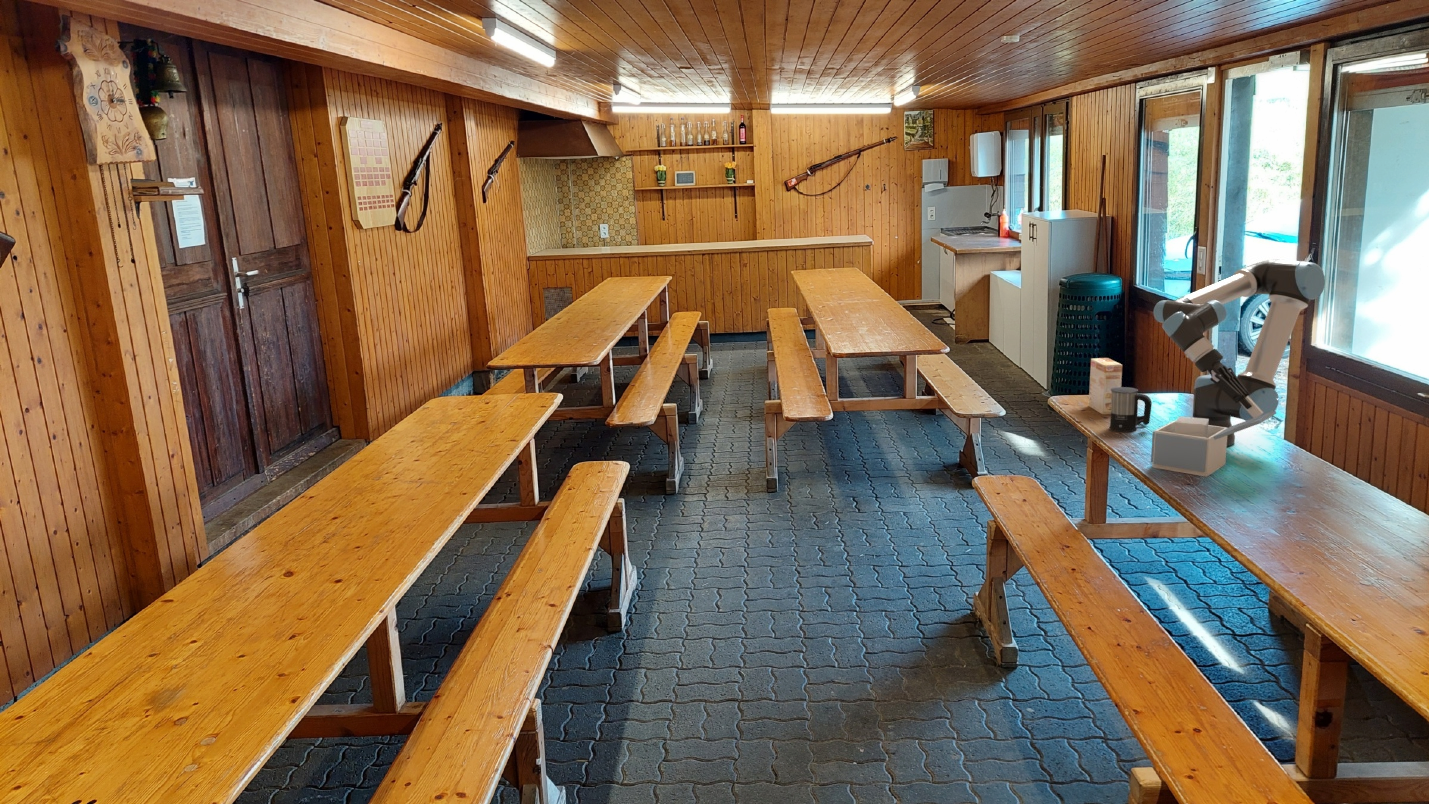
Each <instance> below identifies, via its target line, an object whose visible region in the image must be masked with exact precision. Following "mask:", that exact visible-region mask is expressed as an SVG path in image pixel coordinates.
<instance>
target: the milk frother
mask: <svg viewBox="0 0 1429 804" xmlns="http://www.w3.org/2000/svg"><path fill="white" fill-rule="evenodd" d="M1110 390H1111V392H1112V395H1111V414H1110V420H1109V421H1110V423H1109V430H1111V431H1115V432H1121V433H1122V432H1124V433H1127V432H1128V433H1129V432H1130V433H1131V432H1135V431H1137V425H1140V424H1143V425H1144V426H1147V425H1149V424H1150V421H1151V413H1152V406H1153V405H1152V404H1153V403H1152V400H1151V398H1150V397H1149V395H1146V394H1144V393H1138V392H1139V389H1138V388H1134V387H1129V386H1128V387H1127V386H1125V387H1124V386H1121V387H1116V388H1112V389H1110ZM1139 401H1142V402H1143V403H1144V409H1143V415H1138V406H1139Z"/></svg>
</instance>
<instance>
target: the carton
mask: <svg viewBox="0 0 1429 804" xmlns="http://www.w3.org/2000/svg"><path fill="white" fill-rule="evenodd" d="M1176 421H1177V420H1173V421H1170V422H1169V423H1166V424H1165V425H1163V426H1161V427H1158V428H1157V429H1155V430H1153V431H1152V435H1151V437H1152V438H1151V439H1152V440H1151V453H1150V454H1151V456H1150V463H1152V468H1154V469H1159V470H1166V471H1172V472H1178V473H1184V474H1188V475H1189V474H1190V475H1195V476H1201V477H1209V476H1210V475H1212V474H1213V473H1216V471H1217V470H1219V469H1220V468H1222V467H1224V466H1225V465H1226V460H1227V457H1226V456H1227V447H1228V446H1227V436H1224V437H1221V438H1219V439H1216V440H1215V439H1214V436H1216V435H1217V434H1219V433H1221V432H1222V431H1224V430H1226V429H1227V428H1226V427H1219V426H1211V425H1208V436H1207V438H1205V437H1198V436H1191V435H1184V434H1177V433H1175V422H1176Z"/></svg>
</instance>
